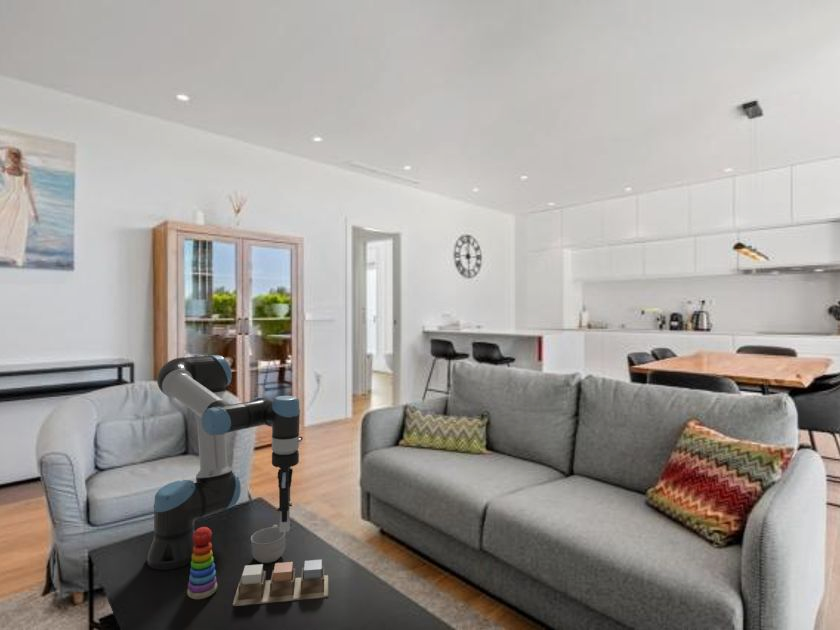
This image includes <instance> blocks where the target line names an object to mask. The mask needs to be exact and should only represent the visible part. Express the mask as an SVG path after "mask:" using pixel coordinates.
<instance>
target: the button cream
mask: <svg viewBox="0 0 840 630" xmlns="http://www.w3.org/2000/svg"><path fill="white" fill-rule="evenodd" d="M263 571H264V563H260V564H250V565H244V568H243V572H242V573H243V575H242V574H241V576H242V585H247V584H258V583H262V579H263Z"/></svg>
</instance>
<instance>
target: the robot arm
mask: <svg viewBox="0 0 840 630" xmlns="http://www.w3.org/2000/svg"><path fill="white" fill-rule="evenodd" d="M232 377H233V375H232V368H231V365H230V364H229V362H228V361H227V359H226V357H223V356H222V355H216V354H214V355H213V354H210V355H209V354H208V355H207V354H206V355H199V356H198V355H197V356H188V357H186V356H185V357H177V358H173V359H172V360H169V361H167V362H166V363H165V364H164V365H162V367H161V368H160V370H159V371H158V373H157V377H156V379H157V380H156V381H157V387H158V388H159V390H160V391H161V393H163V394H164V395H166V397H169V398H172V399H176V400H177V401H178V402H180V403H181V404H183V405H184V406H185V407H187V408H188V409H190V411H192V412H193V413H194V414H195V416H196V417H195V418H196V429H197V440H198V441H197V442H198V457H199V458H198V459H199V468H200V470H199V471H198V472H197V474H196V475H195V482H194V481H193V480H190V479H183V480H175V481H173V482H170V483H167V484H166V485H163V486H162V487H160V488H159V489H158V491H157V492H156V493H155V495H154V504H153V518H154V519H153V539H152V542H151V545H150V547H149V551H148V552H147V553H148V554H147V565H148V566H149V568H151V569H154V570H158V571H159V570H161V571H167V570H174V569H178V568H181V567H184V566H186V565H189V564H191V561H192V554H193V553H194V552H193V547H194V546H195V545H196V544H195V543H194V542H193V535H194V532H195V531H196V530H195V521H197V520H199V519H202V518H205V517H208V516H211V515H214V514H217V513H220V512H224V511H226V510H228V509H230V508H233V507H234V506H235V505H236V504H237V503H238V501H239V499H240V496H241V489H242V486H241V481H240V477H239V475H238V474H237V473H235V472H233V468H232V467H230V466H229V465H228V460H227V459H228V458H227V448H226V436H225V434H228V433H233V432H236V431H240V430H245V429H251V428H255V427H259V426H267V427H270V428H271V431H272V432H271V433H272V435H271V450H272V452H271V464H272V466H273V467H275V468H278V472H277V480H278V486H277V487H278V491H279V493H278V497H279V501H278V503H279V507H277V508H276V509H277V512H279V528H280V530H279V532H285V533H289V532H290V524H291V523H290V522H291V520H290V518H291V517H290V515H291V507H293V503H291V486H292V481H293V479H292V477H293V474H294V473H293V472H294V470H293V469H294V468H293V467H295V466H297V465H298V464H299V461H300V458H299V457H300V450H299V447H300V442H301V441H302V438H300V414H301V410H300V400H299V398H298V397H296V396H294V395H279V396H275V397H273V399H271V398H269V397H266V396H264V397H263V396H257V397H253V398H252V399H251V400H250V401H244V402H239V403H233V404H232V403H229V402H227V401H226V400H224V399H223V396H224V394H225V393H226V392H227V387H228V386H230V384H231V383H232V381H231V380H233V379H232Z"/></svg>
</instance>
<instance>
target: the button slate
mask: <svg viewBox="0 0 840 630" xmlns="http://www.w3.org/2000/svg"><path fill="white" fill-rule="evenodd" d="M322 562H323V559H312V560H311V559H310V560H304V567H303V568H304V579H315V578H321V577H322V566H323V565H322V564H323V563H322Z"/></svg>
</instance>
